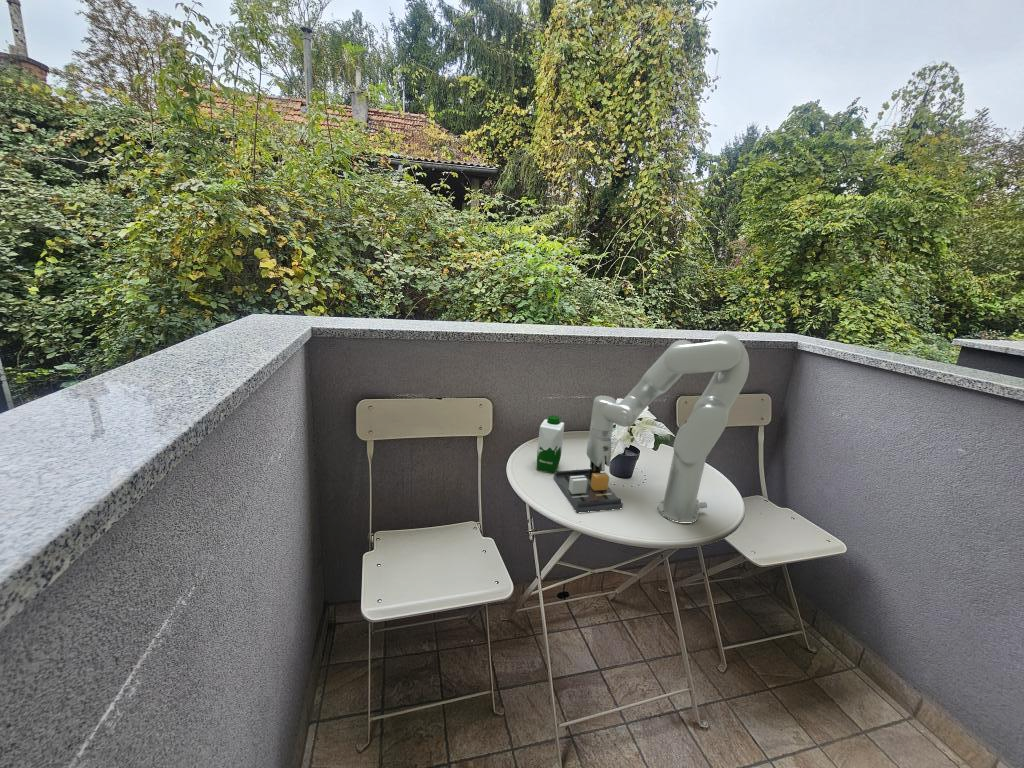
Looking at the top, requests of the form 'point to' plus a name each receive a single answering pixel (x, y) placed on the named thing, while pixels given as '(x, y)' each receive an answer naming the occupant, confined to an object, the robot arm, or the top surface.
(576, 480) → the block
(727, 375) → the robot arm
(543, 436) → the milk carton
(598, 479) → the block
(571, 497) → the panel
